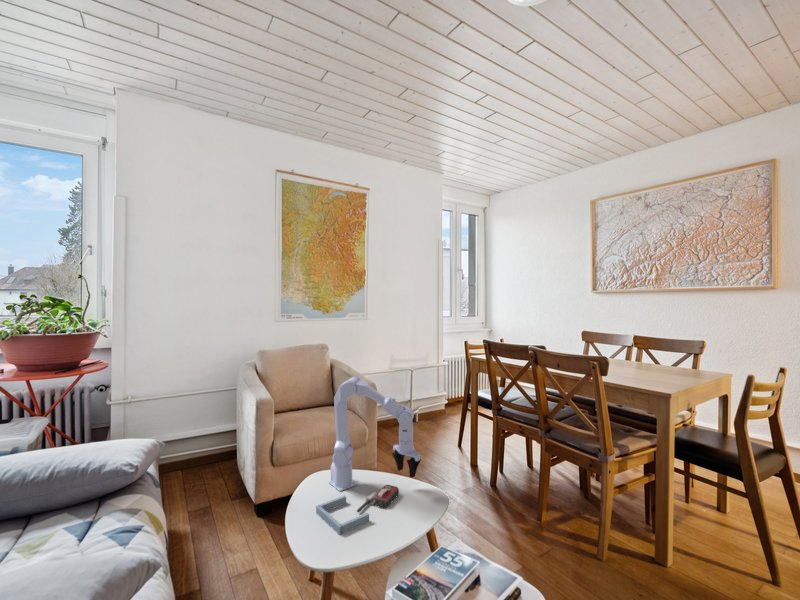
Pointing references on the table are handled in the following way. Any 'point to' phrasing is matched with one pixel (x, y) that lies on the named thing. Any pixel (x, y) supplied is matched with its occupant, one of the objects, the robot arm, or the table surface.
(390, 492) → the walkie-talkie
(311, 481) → the table surface
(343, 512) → the table surface
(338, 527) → the grey pronged cradle
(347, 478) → the robot arm
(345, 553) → the table surface
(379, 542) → the table surface
